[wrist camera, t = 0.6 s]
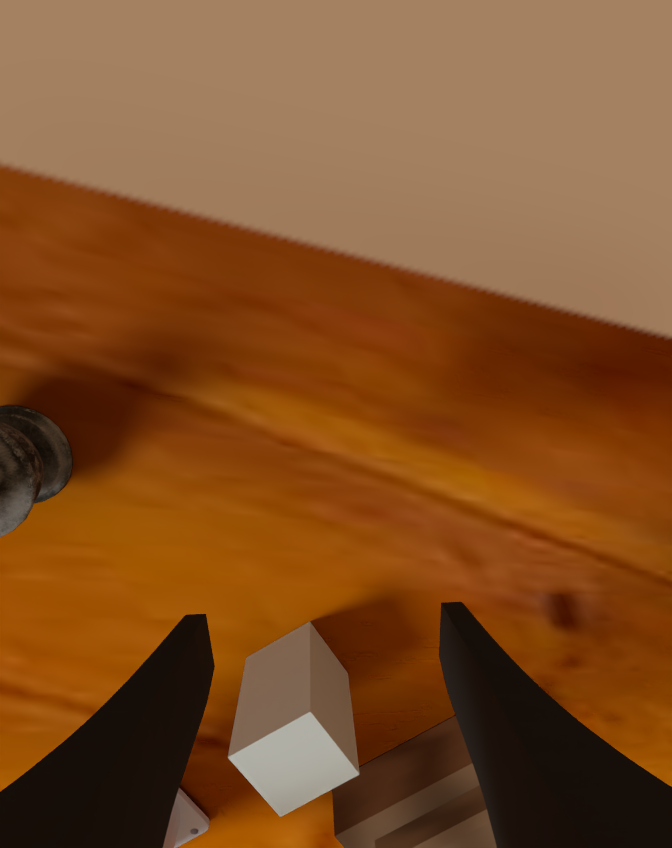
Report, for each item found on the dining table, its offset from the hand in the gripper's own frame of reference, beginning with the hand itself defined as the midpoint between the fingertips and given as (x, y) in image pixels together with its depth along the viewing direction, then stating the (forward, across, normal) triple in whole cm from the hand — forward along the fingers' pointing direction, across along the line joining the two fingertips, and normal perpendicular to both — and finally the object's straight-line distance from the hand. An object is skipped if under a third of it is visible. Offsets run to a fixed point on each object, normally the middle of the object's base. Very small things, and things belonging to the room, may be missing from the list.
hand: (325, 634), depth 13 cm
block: (+10, +2, +12) cm, 15 cm away
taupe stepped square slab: (+9, -8, +24) cm, 26 cm away
